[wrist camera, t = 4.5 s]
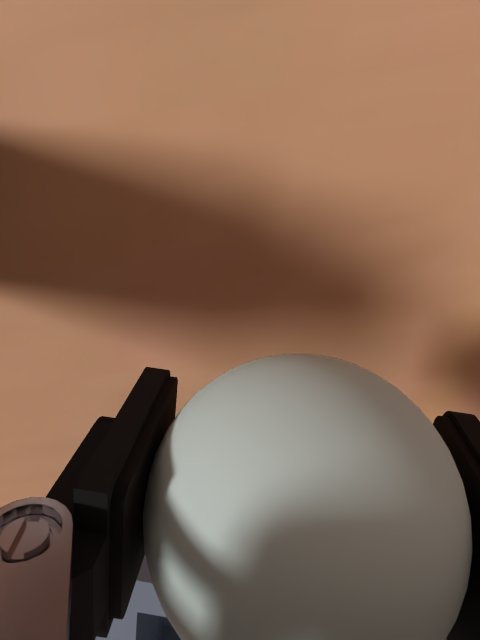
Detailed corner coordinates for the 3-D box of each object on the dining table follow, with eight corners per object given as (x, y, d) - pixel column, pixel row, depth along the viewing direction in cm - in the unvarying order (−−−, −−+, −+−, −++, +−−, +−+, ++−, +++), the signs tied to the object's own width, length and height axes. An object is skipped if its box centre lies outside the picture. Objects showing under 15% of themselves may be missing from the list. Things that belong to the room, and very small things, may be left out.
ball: (189, 293, 10) (83, 466, 5) (444, 329, 10) (644, 553, 5) (173, 489, 13) (90, 762, 7) (382, 522, 12) (465, 828, 7)
